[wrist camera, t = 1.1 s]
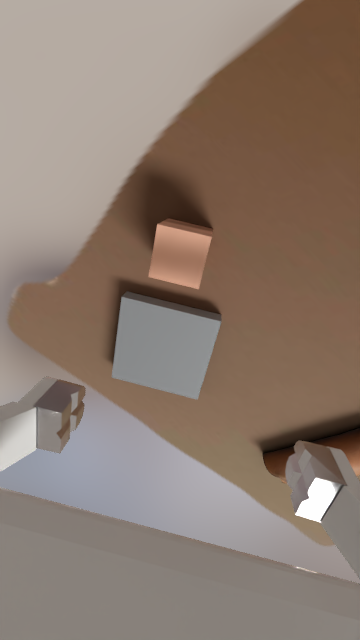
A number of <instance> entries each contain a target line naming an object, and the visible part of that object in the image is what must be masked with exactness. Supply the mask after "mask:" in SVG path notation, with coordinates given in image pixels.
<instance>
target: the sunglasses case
mask: <svg viewBox="0 0 360 640" xmlns="http://www.w3.org/2000/svg"><path fill="white" fill-rule="evenodd" d="M310 443H314V444H318V445H322V446H325V447H332V448H336V449H340V450H342V451H343V452H344V453H345V455H346V457H347V459H348V461H349V463H350V465H351V467H352V468H353V470H354V472H355V474H356V476H358V475H359V474H360V428H358V429H356V430H352V431H348V432H346V433H343V434H340V435H336V436H332V437H328V438H323V439H320V440H316V441H313V442H310ZM293 454H295V450H294V446H293V447H289V448H286V449H281V450H277V451H274V452H269V453H265V454H263V460H264V464H265V466H266V468H267V470H268V471H269V472H270V473H271V474H272V475H273V476H275V477H279V478H280V479H281V480H282V482H283V483H287V480H286V473H285V470H286V463H287V461H288V458H289V456H291V455H293Z"/></svg>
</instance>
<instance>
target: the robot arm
mask: <svg viewBox="0 0 360 640" xmlns="http://www.w3.org/2000/svg"><path fill="white" fill-rule="evenodd" d="M84 396H85V387H84V386H81V385H77V384H74V383H70V382H67V381H63V380H58V379H55V378H51V377H44V378H43V379H42V380H41V381H40V382H39V383H37V384H36V385H35V386H34V387H33V388H32V389H31V390H30V391H29V392H28V393H27V394H26V395H25V396H24V397H23V398H22V399H21V400H20V401H19V402H18V403H17V402H11V403H8V404H6V405H3V406H0V472H1V471H2V470H4V469H5V468H7V467H8V466H10V465H12V464H14V463H15V462H17V461H18V460H20V459H21V458H23V457H25V456H26V455H28V454H30V453H31V452H33V451H35V450H36V448H39V449H43V450H47V451H52V452H56V453H61V451H62V450H63V448H64V447H65V445H66V444H67V442H68V440H69V439H70V432H71V431H74V430H76V428H77V426H78V425H79V423H80V421H81V418H82V416H83V411H84V403H83V402H82V399H83V397H84ZM294 450H295V454H293V455H291V456H289V458H288V461H287V463H286V470H285V473H286V480H287V484H288V485H289V486H290V488H291V489H292V490H293V492H292V494H291V500H292V504H293V508H294V512H295V515H298V516H302V517H305V518H308V519H312V520H315V521H319V522H321V523H320V524H321V525H322V527H323V528H324V529H325V531H326V532H327V534H328V535H329V536H330V538H331V539H332V541H333V542H334V544H335V545H336V546H337V548H338V549H339V550H340V552H341V553H342V555H343V556H344V557H345V559H346V560H347V561H348V563H349V564H350V566H351V567H352V569H353V570H354V572H355V573H356V574H357V576H358V577H359V579H360V482H359V480H358V478H357V476H356V474H355V472H354V470H353V468H352V467H351V465H350V463H349V461H348V459H347V457H346V455H345V453H344V452H343V451H342V450H340V449H336V448H332V447H325V446H322V445H318V444H314V443H309V442H305V441H301V440H299V441H297V442H296V444H295V446H294ZM0 640H360V584H359V583H355V582H352V581H348V580H344V579H340V578H337V577H333V576H329V575H326V574H322V573H318V572H314V571H310V570H306V569H303V568H299V567H296V566H292V565H288V564H284V563H280V562H277V561H273V560H270V559H266V558H262V557H258V556H255V555H250V554H247V553H243V552H239V551H236V550H232V549H228V548H225V547H221V546H217V545H213V544H210V543H206V542H202V541H199V540H195V539H191V538H187V537H184V536H180V535H176V534H172V533H168V532H165V531H161V530H158V529H154V528H150V527H146V526H143V525H138V524H135V523H131V522H128V521H124V520H120V519H116V518H113V517H109V516H105V515H102V514H98V513H94V512H90V511H87V510H83V509H79V508H76V507H72V506H68V505H64V504H61V503H57V502H53V501H49V500H46V499H42V498H38V497H34V496H31V495H27V494H23V493H20V492H16V491H12V490H8V489H4V488H1V487H0Z"/></svg>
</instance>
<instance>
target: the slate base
mask: <svg viewBox="0 0 360 640" xmlns="http://www.w3.org/2000/svg"><path fill="white" fill-rule="evenodd" d="M220 324H221V315H220V314H216V313H212V312H208V311H204V310H200V309H196V308H192V307H188V306H184V305H180V304H176V303H172V302H168V301H164V300H160V299H156V298H152V297H148V296H144V295H140V294H136V293H132V292H128V291H127V292H126V293H125V294H124V295H123V296H122V298H121V306H120V314H119V322H118V330H117V338H116V347H115V355H114V363H113V371H112V378H116V379H120V380H124V381H128V382H131V383H135V384H139V385H143V386H147V387H151V388H155V389H158V390H162V391H166V392H170V393H174V394H178V395H182V396H185V397H189V398H193V399H198V396H199V393H200V389H201V386H202V383H203V380H204V376H205V373H206V370H207V367H208V363H209V360H210V357H211V354H212V350H213V347H214V344H215V341H216V337H217V334H218V331H219V328H220Z"/></svg>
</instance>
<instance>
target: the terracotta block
mask: <svg viewBox="0 0 360 640" xmlns="http://www.w3.org/2000/svg"><path fill="white" fill-rule="evenodd" d="M212 233H213V229H212V228H207V227H203V226H199V225H195V224H190V223H186V222H182V221H178V220H174V219H169V218H168V219H166V220H164V221H162V222H160V223H158V224H157V229H156V235H155V241H154V247H153V253H152V259H151V265H150V271H149V277H151V278H155V279H160V280H164V281H168V282H172V283H176V284H180V285H184V286H188V287H192V288H196V289H199V285H200V281H201V277H202V273H203V269H204V265H205V261H206V257H207V254H208V250H209V246H210V242H211V238H212Z"/></svg>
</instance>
